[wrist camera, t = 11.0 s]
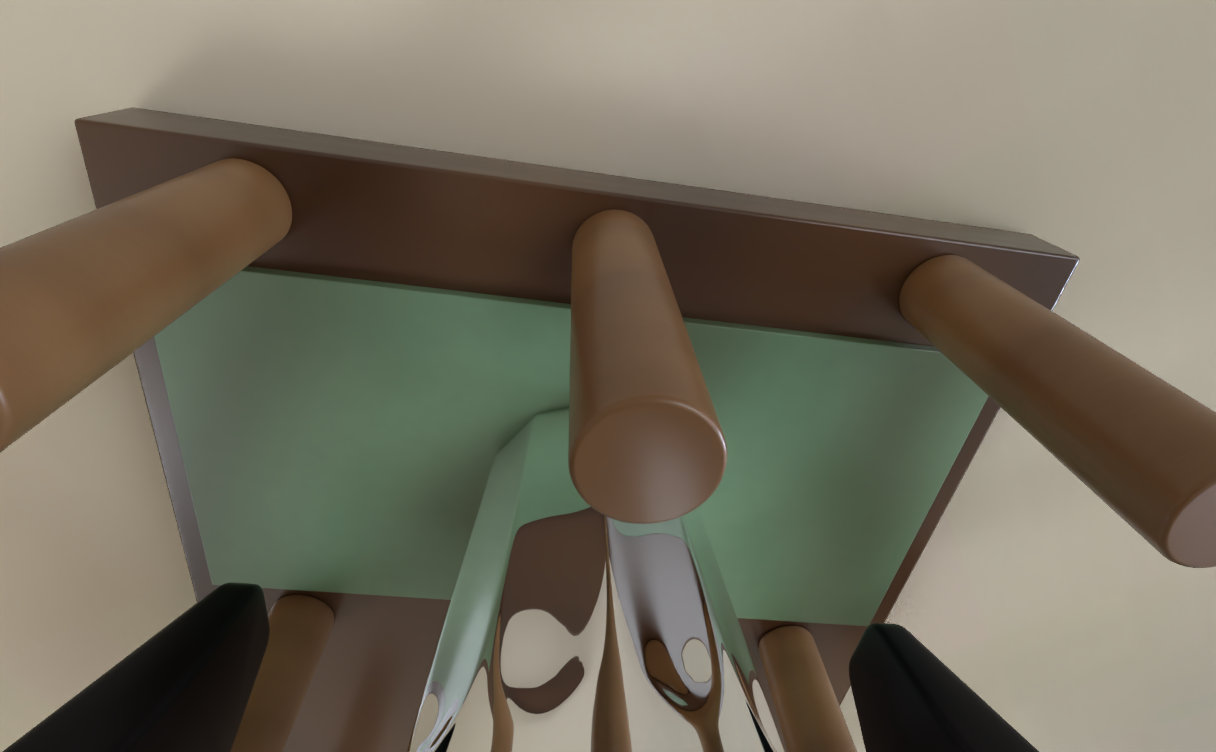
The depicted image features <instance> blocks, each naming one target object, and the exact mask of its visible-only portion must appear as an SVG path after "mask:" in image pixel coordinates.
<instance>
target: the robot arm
mask: <svg viewBox="0 0 1216 752" xmlns="http://www.w3.org/2000/svg"><path fill="white" fill-rule="evenodd" d="M269 635H270V626H269V620H268V614H267V609H266V603H265V598H264V593H263V590H262V588H261V587H260V586H259V585H257V584H250V583H234V582H230V583H225V584H223V585H221V586H219V587H217V588H216V589H215V590H213V591H212V592H211V593H209V594H208V595H207V596H206V597H204V598H203V599H202V600H200V601H199V602H198V603H196V604H195V605H194V606H192V607H191V608H190V609H188V610H187V611H186V612H185V613H183V614H182V615H181V616H179V617H178V618H177V619H175V620H174V621H173V622H171V623H170V624H169V625H168V626H166V627H165V628H164V629H162V630H161V631H160V632H158V633H157V634H156V635H154V636H153V637H152V638H151V639H149V640H148V641H147V642H145V643H144V644H143V645H141V646H140V647H139V648H137V649H136V650H135V651H134V652H132V653H131V654H130V655H128V656H127V657H126V658H124V659H123V660H122V661H120V662H119V663H118V664H117V665H115V666H114V667H113V668H111V669H110V670H109V671H107V672H106V673H105V674H103V675H102V676H101V677H99V678H98V679H97V680H96V681H94V682H93V683H92V684H90V685H89V686H88V687H86V688H85V689H84V690H82V691H81V692H80V693H79V694H77V695H76V696H75V697H73V698H72V699H71V700H69V701H68V702H67V703H65V704H64V705H63V706H62V707H60V708H59V709H58V710H56V711H55V712H54V713H52V714H51V715H50V716H48V717H47V718H46V719H45V720H43V721H42V722H41V723H39V724H38V725H37V726H35V727H34V728H33V729H31V730H30V731H29V732H27V733H26V734H25V735H24V736H22V737H21V738H20V739H18V740H17V741H16V742H14V743H13V744H12V745H10V746H9V747H8V748H7V749H5V750H4V751H3V752H231V749H232V746H233V743H234V740H235V738H236V735H237V732H238V729H239V726H240V723H241V720H242V717H243V715H244V712H245V709H246V706H247V703H248V700H249V697H250V694H251V692H252V689H253V686H254V683H255V680H256V677H257V674H258V671H259V669H260V666H261V663H262V660H263V657H264V654H265V651H266V648H267V645H268V641H269ZM849 678H850V683H851V687H852V692H853V696H854V700H855V705H856V709H857V714H858V718H859V722H860V727H861V731H862V736H863V740H864V744H865V749H866V752H1039V751H1038V750H1037V749H1036V748H1034V747H1033V746H1032V745H1031V744H1030V743H1029V742H1028V741H1027V740H1026V739H1025V738H1024V737H1023V736H1021V735H1020V734H1019V733H1018V732H1017V731H1016V730H1015V729H1014V728H1013V727H1012V726H1011V725H1010V724H1008V723H1007V722H1006V721H1005V720H1004V719H1003V718H1002V717H1001V716H1000V715H999V714H998V713H996V712H995V711H994V710H993V709H992V708H991V707H990V706H989V705H988V704H987V703H986V702H985V701H983V700H982V699H981V698H980V697H979V696H978V695H977V694H976V693H975V692H974V691H973V690H972V689H970V688H969V687H968V686H967V685H966V684H965V683H964V682H963V681H962V680H961V679H960V678H958V677H957V676H956V675H955V674H954V673H953V672H952V671H951V670H950V669H949V668H948V667H947V666H945V665H944V664H943V663H942V662H941V661H940V660H939V659H938V658H937V657H936V656H935V655H934V654H932V653H931V652H930V651H929V650H928V649H927V648H926V647H925V646H924V645H923V644H922V643H921V642H919V641H918V640H917V639H916V638H915V637H914V636H913V635H912V634H911V633H910V632H909V631H907V630H906V629H905V628H903V627H902V626H900V625H896V624H885V623H872V624H871V625H869V626H868V627H867V628H866V630H865V632H864V634H863V636H862V638H861V639H860V641H859V643H858V645H857V647H856V649H855V651H854V653H853V655H852V657H851V659H850V663H849Z"/></svg>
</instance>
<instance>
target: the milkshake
mask: <svg viewBox="0 0 1216 752" xmlns="http://www.w3.org/2000/svg"><path fill="white" fill-rule="evenodd" d="M568 449H569V408H566V409H561V410H556V411H551V412H546V413H541V414H536V415H535V416H534V417H533V418H532V419H531V420H530V421H529V422H528V423H527V424H526V425H525V426H524V427H523V428H522V429H521V430H520V431H519V432H518V433H517V434H516V435H515V436H514V437H513V438H512V439H511V440H510V441H509V442H508V443H507V444H506V445H505V446H504V447H503V448H502V449H501V450H500V451H499V452H498V453H497V455H496V457H495V459H494V462H493V465H492V468H491V472H490V475H489V478H488V481H487V485H486V488H485V491H484V494H483V498H482V501H481V504H480V507H479V511H478V514H477V517H476V520H475V524H474V527H473V530H472V533H471V537H470V540H469V543H468V546H467V550H466V553H465V556H464V559H463V563H462V566H461V569H460V572H459V576H458V579H457V582H456V585H455V589H454V592H453V595H452V598H451V602H450V605H449V608H448V611H447V615H446V618H445V621H444V624H443V628H442V631H441V634H440V637H439V641H438V644H437V647H436V650H435V654H434V657H433V660H432V664H431V667H430V670H429V673H428V677H427V680H426V683H425V687H424V690H423V693H422V696H421V700H420V703H419V706H418V710H417V713H416V716H415V719H414V723H413V726H412V729H411V733H410V736H409V739H408V743H407V746H406V749H405V752H785V751H784V748H783V745H782V743H781V740H780V737H779V734H778V731H777V729H776V726H775V723H774V720H773V717H772V714H771V712H770V709H769V706H768V703H767V700H766V698H765V695H764V692H763V689H762V686H761V683H760V681H759V678H758V675H757V672H756V669H755V667H754V664H753V661H752V658H751V655H750V652H749V650H748V647H747V644H746V641H745V638H744V636H743V633H742V630H741V627H740V624H739V621H738V619H737V616H736V613H735V610H734V607H733V605H732V602H731V599H730V596H729V593H728V590H727V588H726V585H725V582H724V579H723V576H722V574H721V571H720V568H719V565H718V562H717V560H716V557H715V554H714V551H713V548H712V546H711V543H710V540H709V537H708V534H707V531H706V529H705V526H704V523H703V520H702V517H701V515H700V512H699V509H698V507H697V508H696V509H694V510H693V511H691V512H689V513H687V514H685V515H683V516H681V517H678V518H676V519H673V520H669V521H665V522H660V523H653V524H634V523H626V522H622V521H618V520H615V519H612V518H609V517H607V516H605V515H603V514H601V513H599V512H598V511H596V510H595V509H593V508H592V507H591V506H590V505H588V504H587V503H586V502H585V500H584V499H583V498H582V497H581V496H580V494H579V493H578V491H577V490H576V488H575V487H574V485H573V482H572V480H571V477H570V473H569V466H568Z"/></svg>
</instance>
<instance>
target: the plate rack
mask: <svg viewBox="0 0 1216 752" xmlns="http://www.w3.org/2000/svg"><path fill="white" fill-rule="evenodd" d="M75 126H76V130H77V134H78V138H79V142H80V146H81V150H82V154H83V157H84V161H85V165H86V169H87V173H88V177H89V181H90V185H91V189H92V193H93V197H94V200H95V204H96V208H97V209H96V210H94V211H91V212H89V213H86V214H84V215H81V216H79V217H76V218H74V219H71V220H69V221H66V222H64V223H61V224H59V225H56V226H54V227H51V228H49V229H46V230H44V231H41V232H39V233H36V234H34V235H31V236H29V237H26V238H24V239H21V240H19V241H16V242H14V243H11V244H9V245H6V246H4V247H1V248H0V452H1V451H3V450H4V449H5V448H7V447H8V446H9V445H11V444H12V443H13V442H15V441H16V440H17V439H19V438H20V437H21V436H23V435H24V434H25V433H27V432H28V431H29V430H31V429H32V428H33V427H35V426H36V425H37V424H39V423H40V422H41V421H43V420H44V419H45V418H46V417H48V416H49V415H50V414H52V413H53V412H54V411H56V410H57V409H58V408H60V407H61V406H62V405H64V404H65V403H66V402H68V401H69V400H70V399H72V398H73V397H74V396H76V395H77V394H78V393H80V392H81V391H82V390H84V389H85V388H86V387H88V386H89V385H90V384H91V383H93V382H94V381H95V380H97V379H98V378H99V377H101V376H102V375H103V374H105V373H106V372H107V371H109V370H110V369H111V368H113V367H114V366H115V365H117V364H118V363H119V362H121V361H122V360H123V359H125V358H126V357H127V356H129V355H130V354H131V353H134V357H135V361H136V365H137V369H138V372H139V376H140V380H141V384H142V388H143V392H144V396H145V400H146V404H147V408H148V412H149V415H150V419H151V423H152V427H153V431H154V435H155V439H156V443H157V447H158V451H159V455H160V458H161V462H162V466H163V470H164V474H165V478H166V482H167V486H168V490H169V494H170V498H171V501H172V505H173V509H174V513H175V517H176V521H177V525H178V529H179V533H180V537H181V541H182V544H183V548H184V552H185V556H186V560H187V564H188V568H189V572H190V576H191V580H192V584H193V587H194V591H195V595H196V599H197V603H198V602H199V601H200V600H202V599H203V598H204V597H206V596H207V595H208V594H209V593H211V592H212V591H213V590H215V589H216V588H217V587H219V586H221V585H223V584H225V583H230V582H234V583H250V584H257V585H259V586H260V587H261V588H262V590H263V593H264V598H265V603H266V609H267V614H268V620H269V626H270V635H269V641H268V645H267V648H266V651H265V654H264V657H263V660H262V663H261V666H260V669H259V671H258V674H257V677H256V680H255V683H254V686H253V689H252V692H251V694H250V697H249V700H248V703H247V706H246V709H245V712H244V715H243V717H242V720H241V723H240V726H239V729H238V732H237V735H236V738H235V740H234V743H233V746H232V749H231V752H405V749H406V746H407V743H408V739H409V736H410V733H411V729H412V726H413V723H414V719H415V716H416V713H417V710H418V706H419V703H420V700H421V696H422V693H423V690H424V687H425V683H426V680H427V677H428V673H429V670H430V667H431V664H432V660H433V657H434V654H435V650H436V647H437V644H438V641H439V637H440V634H441V631H442V628H443V624H444V621H445V618H446V615H447V611H448V608H449V605H450V602H451V598H452V595H453V592H454V589H455V585H456V582H457V579H458V576H459V572H460V569H461V566H462V563H463V559H464V556H465V553H466V550H467V546H468V543H469V540H470V537H471V533H472V530H473V527H474V524H475V520H476V517H477V514H478V511H479V507H480V504H481V501H482V498H483V494H484V491H485V488H486V485H487V481H488V478H489V475H490V472H491V468H492V465H493V462H494V459H495V457H496V455H497V453H498V452H499V451H500V450H501V449H502V448H503V447H504V446H505V445H506V444H507V443H508V442H509V441H510V440H511V439H512V438H513V437H514V436H515V435H516V434H517V433H518V432H519V431H520V430H521V429H522V428H523V427H524V426H525V425H526V424H527V423H528V422H529V421H530V420H531V419H532V418H533V417H534V416H535V415H536V414H541V413H546V412H551V411H556V410H561V409H566V408H569V449H568V466H569V473H570V477H571V480H572V482H573V485H574V487H575V488H576V490H577V491H578V493H579V494H580V496H581V497H582V498H583V499H584V500H585V502H586V503H587V504H588V505H590V506H591V507H592V508H593V509H595V510H596V511H598V512H599V513H601V514H603V515H605V516H607V517H609V518H612V519H615V520H618V521H622V522H626V523H634V524H653V523H660V522H665V521H669V520H673V519H676V518H678V517H681V516H683V515H685V514H687V513H689V512H691V511H693V510H694V509H696V508H697V507H698V509H699V512H700V515H701V517H702V520H703V523H704V526H705V529H706V531H707V534H708V537H709V540H710V543H711V546H712V548H713V551H714V554H715V557H716V560H717V562H718V565H719V568H720V571H721V574H722V576H723V579H724V582H725V585H726V588H727V590H728V593H729V596H730V599H731V602H732V605H733V607H734V610H735V613H736V616H737V619H738V621H739V624H740V627H741V630H742V633H743V636H744V638H745V641H746V644H747V647H748V650H749V652H750V655H751V658H752V661H753V664H754V667H755V669H756V672H757V675H758V678H759V681H760V683H761V686H762V689H763V692H764V695H765V698H766V700H767V703H768V706H769V709H770V712H771V714H772V717H773V720H774V723H775V726H776V729H777V731H778V734H779V737H780V740H781V743H782V745H783V748H784V751H785V752H857V750H856V748H855V745H854V743H853V740H852V737H851V735H850V732H849V729H848V727H847V724H846V722H845V719H844V716H843V714H842V711H841V709H840V704H841V702H842V700H843V699H844V697H845V695H846V693H847V691H848V689H849V687H850V686H851V683H850V678H849V663H850V659H851V657H852V655H853V653H854V651H855V649H856V647H857V645H858V643H859V641H860V639H861V638H862V636H863V634H864V632H865V630H866V628H867V627H868V626H869V625H871V624H872V623H884V622H885V621H886V619H887V617H888V615H889V613H890V611H891V609H892V608H893V606H894V604H895V602H896V600H897V598H898V596H899V595H900V593H901V591H902V589H903V587H904V585H905V583H906V582H907V580H908V578H909V576H910V574H911V572H912V570H913V569H914V567H915V565H916V563H917V561H918V559H919V557H920V556H921V554H922V552H923V550H924V548H925V546H926V544H927V543H928V541H929V539H930V537H931V535H932V533H933V531H934V530H935V528H936V526H937V524H938V522H939V520H940V518H941V517H942V515H943V513H944V511H945V509H946V507H947V505H948V504H949V502H950V500H951V498H952V496H953V494H954V492H955V491H956V489H957V487H958V485H959V483H960V481H961V479H962V478H963V476H964V474H965V472H966V470H967V468H968V466H969V465H970V463H971V461H972V459H973V457H974V455H975V453H976V452H977V450H978V448H979V446H980V444H981V442H982V440H983V439H984V437H985V435H986V433H987V431H988V429H989V427H990V426H991V424H992V422H993V420H994V418H995V416H996V414H997V413H998V411H999V409H1000V407H1001V408H1003V409H1004V410H1005V411H1006V412H1007V413H1008V414H1009V415H1010V416H1011V417H1012V418H1013V419H1015V420H1016V421H1017V422H1018V423H1019V424H1020V425H1021V426H1022V427H1023V428H1024V429H1025V430H1027V431H1028V432H1029V433H1030V434H1031V435H1032V436H1033V437H1034V438H1035V439H1036V440H1037V441H1039V442H1040V443H1041V444H1042V445H1043V446H1044V447H1045V448H1046V449H1047V450H1048V451H1049V452H1051V453H1052V454H1053V455H1054V456H1055V457H1056V458H1057V459H1058V460H1059V461H1060V462H1061V463H1063V464H1064V465H1065V466H1066V467H1067V468H1068V469H1069V470H1070V471H1071V472H1072V473H1073V474H1075V475H1076V476H1077V477H1078V478H1079V479H1080V480H1081V481H1082V482H1083V483H1084V484H1085V485H1087V486H1088V487H1089V488H1090V489H1091V490H1092V491H1093V492H1094V493H1095V494H1096V495H1097V496H1099V497H1100V498H1101V499H1102V500H1103V501H1104V502H1105V503H1106V504H1107V505H1108V506H1109V507H1111V508H1112V509H1113V510H1114V511H1115V512H1116V513H1117V514H1118V515H1119V516H1120V517H1121V518H1123V519H1124V520H1125V521H1126V522H1127V523H1128V524H1129V525H1130V526H1131V527H1132V528H1133V529H1135V530H1136V531H1137V532H1138V533H1139V534H1140V535H1141V536H1142V537H1143V538H1144V539H1145V540H1147V541H1148V542H1149V543H1150V544H1151V545H1152V546H1153V547H1154V548H1155V549H1156V550H1157V551H1159V552H1160V553H1161V554H1162V555H1163V556H1164V557H1165V558H1167V559H1168V560H1170V561H1172V562H1174V563H1177V564H1179V565H1182V566H1186V567H1193V568H1208V567H1216V412H1214V411H1212V410H1211V409H1209V408H1208V407H1206V406H1204V405H1203V404H1201V403H1199V402H1198V401H1196V400H1195V399H1193V398H1191V397H1190V396H1188V395H1186V394H1185V393H1183V392H1182V391H1180V390H1178V389H1177V388H1175V387H1174V386H1172V385H1170V384H1169V383H1167V382H1165V381H1164V380H1162V379H1161V378H1159V377H1157V376H1156V375H1154V374H1152V373H1151V372H1149V371H1148V370H1146V369H1144V368H1143V367H1141V366H1140V365H1138V364H1136V363H1135V362H1133V361H1131V360H1130V359H1128V358H1127V357H1125V356H1123V355H1122V354H1120V353H1118V352H1117V351H1115V350H1114V349H1112V348H1110V347H1109V346H1107V345H1105V344H1104V343H1102V342H1101V341H1099V340H1097V339H1096V338H1094V337H1093V336H1091V335H1089V334H1088V333H1086V332H1084V331H1083V330H1081V329H1080V328H1078V327H1076V326H1075V325H1073V324H1071V323H1070V322H1068V321H1067V320H1065V319H1063V318H1062V317H1060V316H1059V315H1057V314H1055V313H1054V312H1052V310H1053V309H1054V307H1055V305H1056V303H1057V301H1058V299H1059V297H1060V296H1061V294H1062V292H1063V290H1064V288H1065V286H1066V284H1067V283H1068V281H1069V279H1070V277H1071V275H1072V273H1073V271H1074V269H1075V268H1076V266H1077V264H1078V262H1079V257H1077V256H1076V255H1073V254H1071V253H1069V252H1067V251H1065V250H1063V249H1061V248H1059V247H1057V246H1055V245H1052V244H1050V243H1048V242H1046V241H1044V240H1042V239H1040V238H1038V237H1036V236H1034V235H1031V234H1025V233H1018V232H1011V231H1004V230H997V229H990V228H983V227H975V226H968V225H961V224H954V223H947V222H940V221H933V220H926V219H919V218H912V217H905V216H897V215H890V214H883V213H876V212H869V211H862V210H855V209H848V208H841V207H834V206H827V205H819V204H812V203H805V202H798V201H791V200H784V199H777V198H770V197H763V196H756V195H749V194H741V193H734V192H727V191H720V190H713V189H706V188H699V187H692V186H685V185H678V184H671V183H663V182H656V181H649V180H642V179H635V178H628V177H621V176H614V175H607V174H600V173H593V172H585V171H578V170H571V169H564V168H557V167H550V166H543V165H536V164H529V163H522V162H515V161H507V160H500V159H493V158H486V157H479V156H472V155H465V154H458V153H451V152H444V151H437V150H429V149H422V148H415V147H408V146H401V145H394V144H387V143H380V142H373V141H366V140H359V139H351V138H344V137H337V136H330V135H323V134H316V133H309V132H302V131H295V130H288V129H281V128H273V127H266V126H259V125H252V124H245V123H238V122H231V121H224V120H217V119H210V118H203V117H195V116H188V115H181V114H174V113H167V112H160V111H153V110H146V109H139V108H128V109H123V110H118V111H113V112H108V113H103V114H98V115H93V116H88V117H83V118H79V119H76V120H75Z"/></svg>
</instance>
